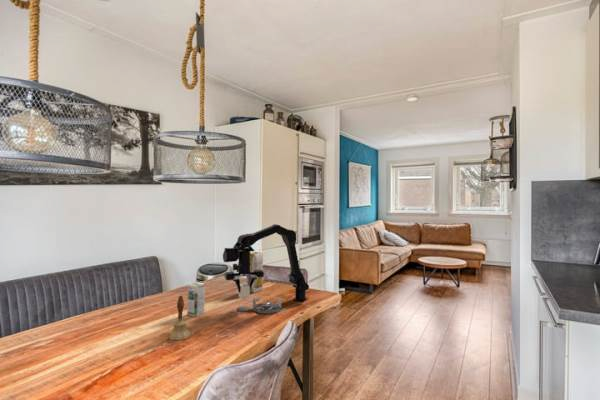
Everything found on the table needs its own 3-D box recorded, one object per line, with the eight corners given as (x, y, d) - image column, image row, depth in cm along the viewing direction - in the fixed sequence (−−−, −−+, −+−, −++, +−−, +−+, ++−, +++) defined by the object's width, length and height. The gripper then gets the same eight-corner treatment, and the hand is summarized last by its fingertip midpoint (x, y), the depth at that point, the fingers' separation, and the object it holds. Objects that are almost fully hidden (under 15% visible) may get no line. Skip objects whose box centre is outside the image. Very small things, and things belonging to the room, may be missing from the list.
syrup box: (186, 315, 149) (187, 284, 149) (196, 311, 154) (196, 281, 154) (195, 317, 147) (196, 286, 147) (204, 313, 152) (205, 283, 152)
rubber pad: (242, 306, 163) (242, 305, 163) (253, 308, 159) (253, 307, 159) (233, 310, 156) (233, 309, 156) (245, 312, 153) (245, 312, 153)
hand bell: (169, 333, 129) (169, 294, 129) (190, 330, 132) (191, 292, 132) (168, 342, 121) (169, 300, 121) (191, 338, 124) (191, 298, 124)
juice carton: (254, 293, 185) (255, 252, 185) (244, 291, 189) (244, 251, 189) (264, 289, 193) (264, 250, 193) (254, 287, 197) (254, 249, 197)
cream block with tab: (237, 294, 161) (237, 282, 161) (245, 293, 163) (245, 281, 163) (242, 300, 152) (242, 287, 152) (251, 299, 154) (251, 286, 154)
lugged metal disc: (251, 314, 151) (252, 303, 151) (254, 304, 165) (254, 294, 165) (281, 314, 152) (281, 303, 152) (280, 304, 166) (281, 294, 166)
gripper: (257, 256, 169) (257, 285, 169) (222, 258, 161) (222, 289, 161) (264, 260, 159) (263, 291, 159) (226, 263, 151) (226, 295, 151)
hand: (244, 291), depth 158 cm, fingers closed on cream block with tab, 4 cm apart
